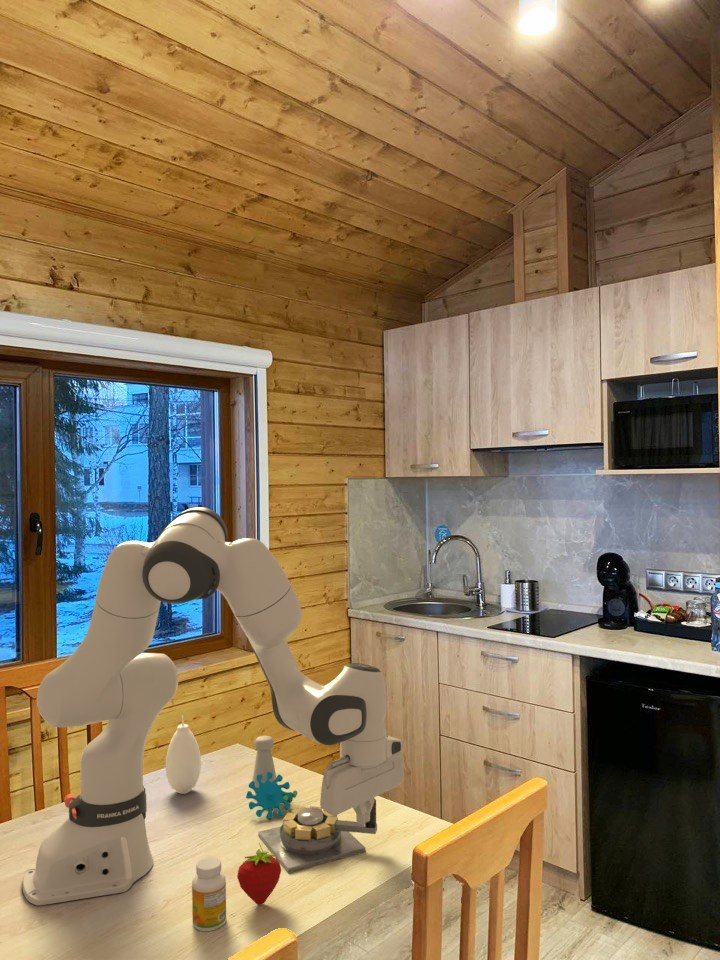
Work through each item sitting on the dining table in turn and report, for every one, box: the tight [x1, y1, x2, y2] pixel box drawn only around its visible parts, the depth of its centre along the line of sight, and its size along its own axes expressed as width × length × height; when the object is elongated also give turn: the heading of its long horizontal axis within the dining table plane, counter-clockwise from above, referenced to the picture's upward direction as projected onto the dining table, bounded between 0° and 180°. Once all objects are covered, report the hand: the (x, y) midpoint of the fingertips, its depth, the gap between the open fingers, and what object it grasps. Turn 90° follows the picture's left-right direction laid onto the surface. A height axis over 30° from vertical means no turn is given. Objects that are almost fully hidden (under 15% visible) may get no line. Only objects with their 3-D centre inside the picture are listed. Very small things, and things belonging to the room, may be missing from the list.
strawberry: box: [236, 842, 282, 906], centre depth 128 cm, size 6×8×10 cm
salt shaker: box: [251, 735, 279, 795], centre depth 172 cm, size 6×6×13 cm
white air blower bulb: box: [165, 714, 202, 795], centre depth 173 cm, size 8×8×18 cm
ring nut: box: [282, 798, 378, 841], centre depth 148 cm, size 10×18×6 cm, turn 78°
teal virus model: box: [245, 772, 299, 821], centre depth 164 cm, size 11×6×10 cm
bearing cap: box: [257, 807, 367, 873], centre depth 149 cm, size 16×16×6 cm
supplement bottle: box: [191, 856, 227, 932], centre depth 123 cm, size 5×5×10 cm
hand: (363, 822), depth 143 cm, fingers closed
